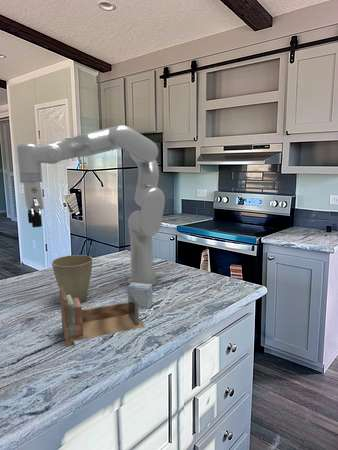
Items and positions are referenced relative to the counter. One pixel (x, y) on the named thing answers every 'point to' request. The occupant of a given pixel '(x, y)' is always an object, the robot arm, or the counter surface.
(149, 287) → the medicine box
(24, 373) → the counter surface
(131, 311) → the bookend
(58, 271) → the plant pot
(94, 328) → the rack
